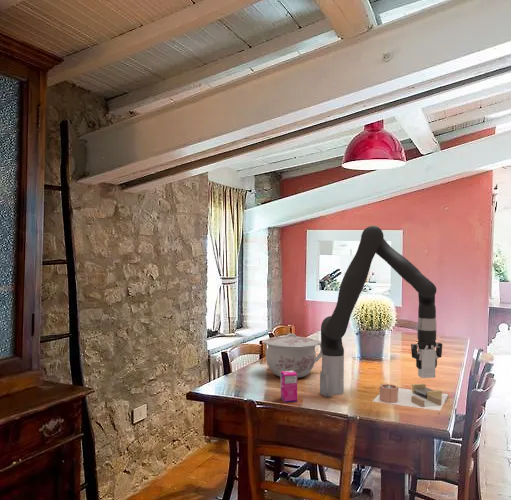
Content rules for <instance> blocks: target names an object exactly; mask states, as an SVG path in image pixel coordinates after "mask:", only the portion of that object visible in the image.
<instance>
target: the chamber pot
mask: <svg viewBox="0 0 511 500" xmlns="http://www.w3.org/2000/svg"><path fill="white" fill-rule="evenodd" d="M262 343H263V344H264V345H267V348H266V350H265V359H266V365H267V366H268V368H269V369H270V371H271V372H272V374H273V375H274V376H277V377H278V378H281V371H294V372H295V373H297V379H300V378H304V377H307V376H309V374H310V372H311V371H312V370H313V368H314V366H315V364H316V363H317V362H318V361H319V360H320V359H322V347H321V340H316V339H313V338H309V337H304V336H297V335H296V334H295V333H287V335H282V336H281V335H279V336H273V337H269V338H266V339H264V340H263V341H262ZM316 346H320V348H319V349H320V351H319V353H318V355H317V353H316V352H317V351H316ZM316 355H317V356H316Z"/></svg>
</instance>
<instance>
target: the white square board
mask: <svg viewBox="0 0 511 500" xmlns="http://www.w3.org/2000/svg"><path fill="white" fill-rule="evenodd" d="M416 388H427V387H426V383H413V384H411V389H408V388H401V387H398V401H397V402H394V403H388V402H383V401H381V400H380V393H379V394H378V395H377V396H376V397H375V398H374V399H372V402H375V403H381V404H382V403H383V404H388V405H396V406H403V407H411V408H416V409H417V408H418V409H425V410H430V411H431V410H432V411H438V412H439V411H441V410H442V408H443V405H444V404H446V402H447V399H448V398H449V394H448V393H443V391H442V390H441V389H438V390H436V389H435V390H434V391H427V395H424V394H421V393H419V392H417V391H415V389H416ZM437 414H438V415H439V414H441V413H437Z"/></svg>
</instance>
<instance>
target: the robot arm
mask: <svg viewBox="0 0 511 500" xmlns="http://www.w3.org/2000/svg"><path fill="white" fill-rule="evenodd" d="M359 240H360V241H359V244H358V247H357V250H356V253H355V255H354V256H353V258H352V260H351V261H350V264H349V265H348V266H347V269H346V271H345V273H344V275H343V278H342V280H341V283H340V285H339V290H338V296H337V301H336V305H335V308H334V310H333V312H332V314H331V315H329V316H327V317H325V318H324V319H323V320H322V322H321V325H320V342H321V347H322V357H321V371H320V372H319V394H321V396H323V397H326V398H333V396H339V395H343V394H344V390H345V389H344V388H345V387H344V374H345V373H344V371H345V370H344V368H345V367H344V366H345V364H344V363H345V348H344V344H343V337H344V336H345V334H346V332H347V330H348V325H349V323H350V319H351V316H352V314H353V311H354V309H355V306H356V305H357V302H358V300H359V297H360V296H361V293H362V291H363V289H364V286H365V283H366V282H367V280H368V279H367V278H368V275H369V272H370V269H371V265H372V262H373V259H374V257H375V255H377V256H379V257H380V258H381V259H383V261H385V262H386V263H387V264H388V265H389V266H390V267H391V268H392V269H393V271H395V272H396V273H397V274H398V275H399V276H400V277H401V278H402V279H403V280H404V281H406V282H407V283H408V284H409V285H410V286H411V287H412V288H413V289H414V290H415V291H416V292H417V293H418V296H417V297H418V308H417V309H418V310H417V311H418V312H417V313H418V314H417V317H418V318H417V343H411V344H410V348H411V349H410V351H411V352H410V353H411V357H412V359H415V367H416V368H417V370H418V369H421V368H422V360H421V359H422V355H424V350H426V349H435V369H436V368H437V366H438V360H439V358H442V355H443V343H441V342H439V341H438V342H436V341H437V314H436V313H437V312H436V311H437V308H436V304H435V303H436V293H437V287H436V284H434V283H433V282H432V281H431V280H430V279H429V278H427V277H426V276H425V275H424V274H423V273H422V272H421V271H420V270H419V268H417V267H416V265H414V264H413V263H412V262H410V260H408V258H406V257H405V256H404V255H402V254H400V253H399V252H398V251H397V250H395V248H393V247H392V246H391V245H389V243H388V241H386V239H385V238H384V232H383V230H382V229H381V228H380V227H379V226H376V225H370V226H367V227H365V229H364V230H362V233H361V235H360V239H359ZM418 348H419V349H423V352H422V353H421V352H419V349H418Z"/></svg>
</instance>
